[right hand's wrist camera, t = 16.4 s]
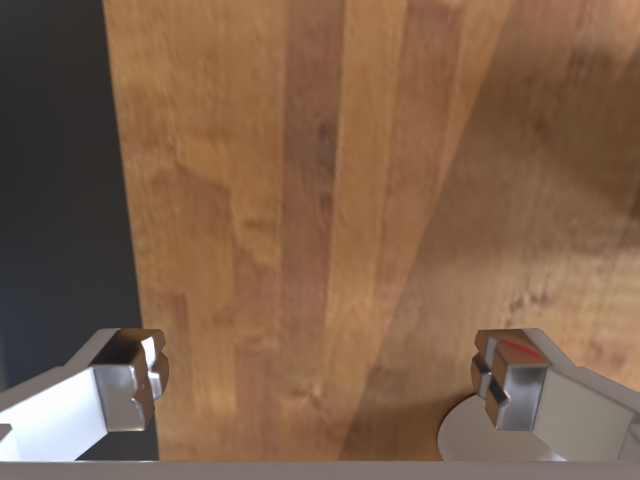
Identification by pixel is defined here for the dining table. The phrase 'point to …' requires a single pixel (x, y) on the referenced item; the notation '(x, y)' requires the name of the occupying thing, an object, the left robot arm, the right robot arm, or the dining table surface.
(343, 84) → the dining table surface
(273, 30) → the dining table surface
